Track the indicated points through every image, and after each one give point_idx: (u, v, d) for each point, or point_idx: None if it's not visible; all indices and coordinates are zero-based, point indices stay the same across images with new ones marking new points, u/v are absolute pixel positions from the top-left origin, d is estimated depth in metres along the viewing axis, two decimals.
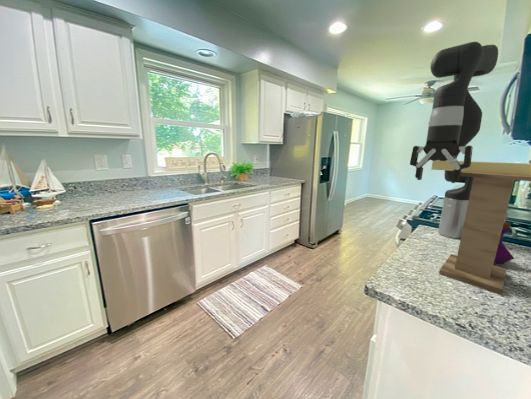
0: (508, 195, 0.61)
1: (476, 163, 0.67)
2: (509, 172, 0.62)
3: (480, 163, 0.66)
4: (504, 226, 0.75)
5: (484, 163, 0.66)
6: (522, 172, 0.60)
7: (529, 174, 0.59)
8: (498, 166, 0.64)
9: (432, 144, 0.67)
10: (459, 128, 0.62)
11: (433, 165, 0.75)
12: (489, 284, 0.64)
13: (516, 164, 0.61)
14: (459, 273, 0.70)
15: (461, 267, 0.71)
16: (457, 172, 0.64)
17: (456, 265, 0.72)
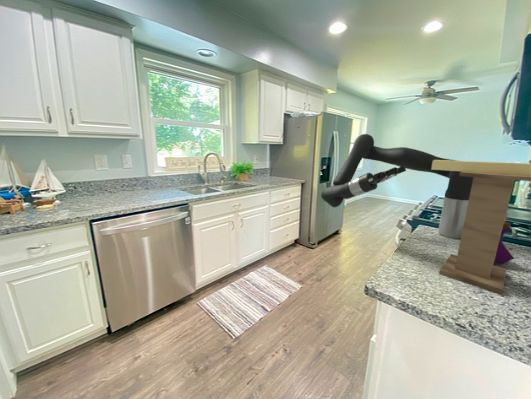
0: (508, 195, 0.61)
1: (476, 163, 0.67)
2: (509, 172, 0.62)
3: (480, 163, 0.66)
4: (504, 226, 0.75)
5: (484, 163, 0.66)
6: (522, 172, 0.60)
7: (529, 174, 0.59)
8: (498, 166, 0.64)
9: None
10: (362, 186, 0.95)
11: (433, 165, 0.75)
12: (489, 284, 0.64)
13: (516, 164, 0.61)
14: (459, 273, 0.70)
15: (461, 267, 0.71)
16: (389, 174, 0.85)
17: (456, 265, 0.72)
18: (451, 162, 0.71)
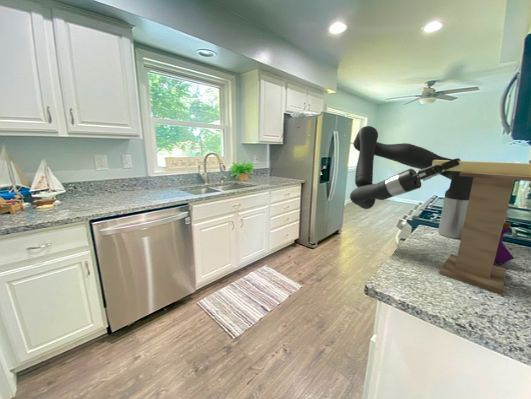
0: (508, 195, 0.61)
1: (476, 163, 0.67)
2: (509, 172, 0.62)
3: (480, 163, 0.66)
4: (504, 226, 0.75)
5: (484, 163, 0.66)
6: (522, 172, 0.60)
7: (529, 174, 0.59)
8: (498, 166, 0.63)
9: None
10: (403, 185, 0.80)
11: (433, 165, 0.75)
12: (489, 284, 0.64)
13: (516, 164, 0.61)
14: (459, 273, 0.70)
15: (461, 267, 0.71)
16: (447, 167, 0.71)
17: (456, 265, 0.72)
18: None
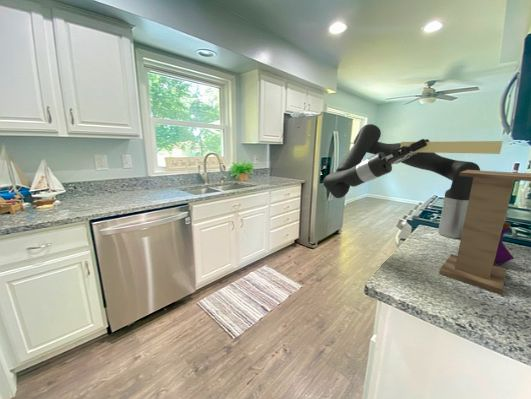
0: (508, 195, 0.61)
1: (443, 143, 0.63)
2: (475, 151, 0.58)
3: (447, 143, 0.62)
4: (504, 226, 0.75)
5: (451, 142, 0.61)
6: (488, 150, 0.56)
7: (495, 152, 0.55)
8: (464, 145, 0.59)
9: (392, 163, 0.77)
10: (372, 169, 0.76)
11: None
12: (489, 284, 0.64)
13: (482, 142, 0.57)
14: (459, 273, 0.70)
15: (461, 267, 0.71)
16: (414, 149, 0.67)
17: (456, 265, 0.72)
18: None
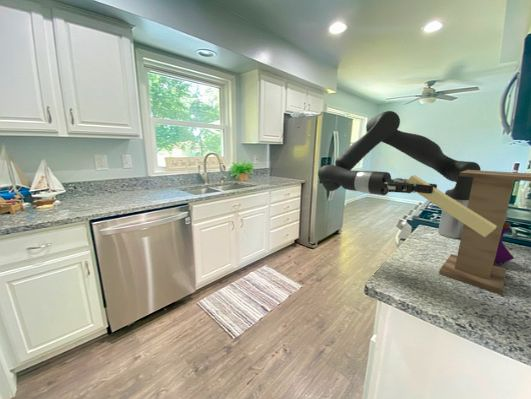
0: (508, 195, 0.61)
1: (447, 200, 0.60)
2: (468, 224, 0.58)
3: (450, 202, 0.60)
4: (504, 226, 0.75)
5: (453, 204, 0.59)
6: (479, 230, 0.56)
7: (483, 234, 0.56)
8: (463, 213, 0.58)
9: None
10: (370, 186, 0.73)
11: (408, 181, 0.66)
12: (489, 284, 0.64)
13: (479, 220, 0.56)
14: (459, 273, 0.70)
15: (461, 267, 0.71)
16: None
17: (456, 265, 0.72)
18: None
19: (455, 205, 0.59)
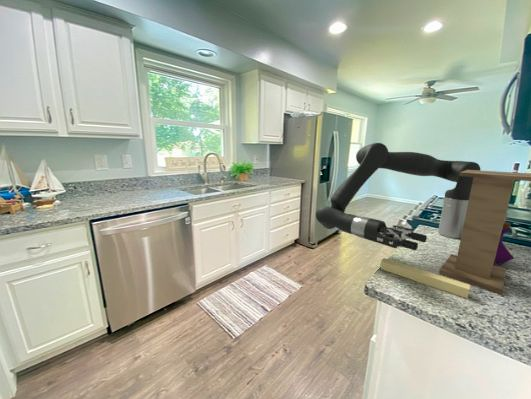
0: (508, 195, 0.61)
1: (419, 274, 0.68)
2: (447, 291, 0.63)
3: (422, 275, 0.67)
4: (504, 226, 0.75)
5: (425, 276, 0.67)
6: (458, 294, 0.62)
7: (464, 297, 0.61)
8: (438, 282, 0.65)
9: None
10: (366, 234, 0.76)
11: None
12: (489, 284, 0.64)
13: (453, 285, 0.62)
14: (459, 273, 0.70)
15: (461, 267, 0.71)
16: None
17: (456, 265, 0.72)
18: (397, 267, 0.72)
19: (427, 277, 0.66)
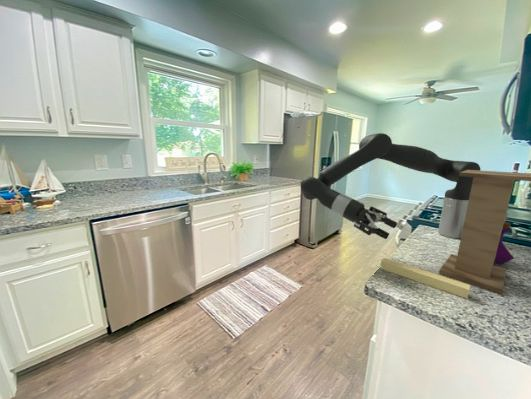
0: (508, 195, 0.61)
1: (419, 274, 0.68)
2: (447, 291, 0.63)
3: (422, 275, 0.67)
4: (504, 226, 0.75)
5: (426, 276, 0.67)
6: (458, 294, 0.62)
7: None
8: (438, 283, 0.65)
9: None
10: (345, 215, 0.81)
11: (382, 265, 0.75)
12: (489, 284, 0.64)
13: (453, 285, 0.62)
14: (459, 273, 0.70)
15: (461, 267, 0.71)
16: None
17: (456, 265, 0.72)
18: (397, 267, 0.72)
19: (427, 277, 0.66)
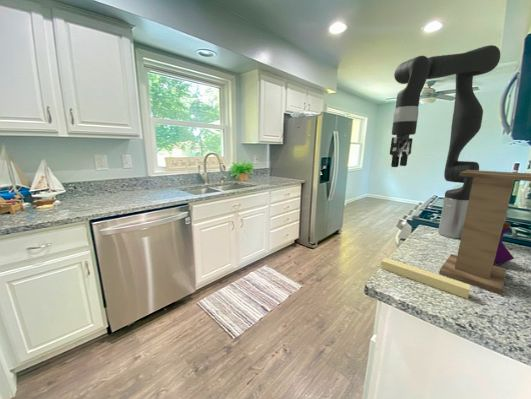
0: (508, 195, 0.61)
1: (419, 274, 0.68)
2: (447, 291, 0.63)
3: (422, 275, 0.67)
4: (504, 226, 0.75)
5: (426, 276, 0.67)
6: (458, 294, 0.62)
7: None
8: (438, 283, 0.65)
9: None
10: (397, 124, 0.80)
11: (382, 265, 0.75)
12: (489, 284, 0.64)
13: (453, 285, 0.62)
14: (459, 273, 0.70)
15: (461, 267, 0.71)
16: None
17: (456, 265, 0.72)
18: (397, 267, 0.72)
19: (427, 277, 0.66)
